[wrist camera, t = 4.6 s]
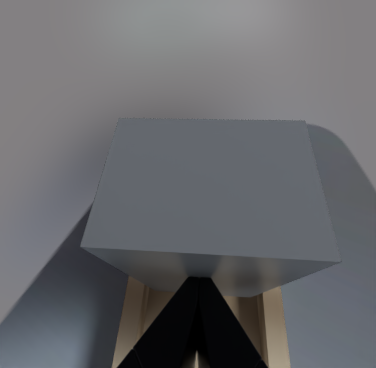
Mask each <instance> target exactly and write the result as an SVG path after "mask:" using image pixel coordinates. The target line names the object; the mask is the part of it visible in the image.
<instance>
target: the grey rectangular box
mask: <svg viewBox="0 0 376 368" xmlns="http://www.w3.org/2000/svg"><path fill="white" fill-rule="evenodd" d="M80 247H81V248H83V249H84V250H86V251H88V252H89V253H91V254H93V255H95V256H96V257H98V258H100V259H102V260H103V261H105V262H107V263H108V264H110V265H112V266H114V267H115V268H117V269H119V270H120V271H122V272H124V273H126V274H127V275H129V276H131V277H133V278H134V279H136V280H138V281H139V282H141V283H143V284H145V285H146V286H148V287H150V288H151V289H153V290H155V291H164V292H176V291H177V290H178V289H179V287H180V286H181V285H182V283H183V282H184V281H185V280H186V278H187V277H189V276H191V277H199V278H200V277H207V278H211V279H212V280H213V282H214V283H215V285H216V286H217V288H218V289H219V291H220V293H221V294H222V296H235V297H249V298H250V297H253V296H256V295H258V294H261V293H263V292H266V291H268V290H271V289H274V288H276V287H279V286H281V285H284V284H287V283H289V282H292V281H294V280H297V279H299V278H302V277H305V276H307V275H310V274H312V273H315V272H317V271H320V270H323V269H325V268H328V267H330V266H333V265H335V264H338V263H341V262H342V261H341V257H340V253H339V249H338V246H337V242H336V238H335V234H334V230H333V226H332V222H331V219H330V215H329V211H328V207H327V203H326V199H325V195H324V192H323V188H322V184H321V180H320V176H319V172H318V168H317V165H316V161H315V157H314V153H313V149H312V145H311V141H310V137H309V134H308V130H307V126H306V122H305V121H286V120H282V121H281V120H217V119H214V120H213V119H209V120H208V119H145V118H119V119H118V123H117V126H116V129H115V133H114V136H113V139H112V142H111V146H110V149H109V153H108V156H107V159H106V162H105V165H104V169H103V172H102V175H101V179H100V182H99V185H98V189H97V192H96V195H95V198H94V202H93V205H92V208H91V212H90V215H89V218H88V222H87V225H86V228H85V231H84V235H83V238H82V241H81V245H80Z"/></svg>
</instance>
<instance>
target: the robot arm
mask: <svg viewBox="0 0 376 368" xmlns="http://www.w3.org/2000/svg"><path fill="white" fill-rule="evenodd" d="M196 354H197V359H198V368H268V366H267V365H266V363H265V362H264V360H262V357H261V356H260V354H259V352H258V351H257V349H256V348H255V346H254V345H253V343H252V341H251V340H250V338H249V337H248V335H247V334H246V332H245V330H244V329H243V327H242V326H241V324H240V323H239V321H238V319H237V318H236V316H235V315H234V313H233V312H232V310H231V308H230V307H229V305H228V304H227V302H226V300H225V299H224V297H223V296H222V294H221V293H220V291H219V289H218V288H217V286H216V285H215V283H214V282H213V280H212V279H211V278H207V277H200V278H199V277H191V276H189V277H187V278H186V280H185V281H184V282H183V283H182V285H181V286H180V287H179V289H178V290H177V291H176V292H175V294H174V295H173V296H172V298H171V299H170V300H169V301H168V303H167V304H166V305H165V307H164V308H163V309H162V310H161V312H160V313H159V314H158V316H157V317H156V318H155V319H154V321H153V322H152V323H151V325H150V326H149V327H148V328H147V330H146V331H145V332H144V334H143V335H142V336H141V337H140V339H139V340H138V341H137V343H136V344H135V345H134V346H133V349H131V350H130V351H129V353H128V354H127V355H126V357H125V358H124V359H123V360H122V362H121V363H120V364H119V365H118V366H117V368H195V361H196Z"/></svg>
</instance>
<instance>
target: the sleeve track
mask: <svg viewBox="0 0 376 368" xmlns="http://www.w3.org/2000/svg"><path fill="white" fill-rule="evenodd" d="M174 294H175V292H164V291H155V290H153V289H151V288H150V287H148V286H146V285H145V284H143V283H141V282H139V281H138V280H136V279H134V278H133V277H131V276H129V277H128V282H127V288H126V293H125V298H124V304H123V309H122V315H121V320H120V325H119V331H118V336H117V342H116V347H115V352H114V358H113V363H112V368H117V366H118V365H119V364H120V363H121V362H122V360H123V359H124V358H125V357H126V355H127V354H128V353H129V351H130V350H131V349H133V346H134V345H135V344H136V343H137V341H138V340H139V339H140V337H141V336H142V335H143V334H144V332H145V331H146V330H147V328H148V327H149V326H150V325H151V323H152V322H153V321H154V319H155V318H156V317H157V316H158V314H159V313H160V312H161V310H162V309H163V308H164V307H165V305H166V304H167V303H168V301H169V300H170V299H171V298H172V296H173V295H174ZM223 297H224V299H225V300H226V302H227V304H228V305H229V307H230V308H231V310H232V312H233V313H234V315H235V316H236V318H237V319H238V321H239V323H240V324H241V326H242V327H243V329H244V330H245V332H246V334H247V335H248V337H249V338H250V340H251V341H252V343H253V345H254V346H255V348H256V349H257V351H258V352H259V354H260V356H261V357H262V360H264V362H265V363H266V365H267V366H268V368H290V360H289V352H288V343H287V335H286V327H285V319H284V311H283V303H282V295H281V287H280V286H279V287H276V288H274V289H271V290H268V291H266V292H263V293H261V294H258V295H256V296H253V297H250V298H249V297H235V296H223ZM195 368H198V359H197V354H196V361H195Z"/></svg>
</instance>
